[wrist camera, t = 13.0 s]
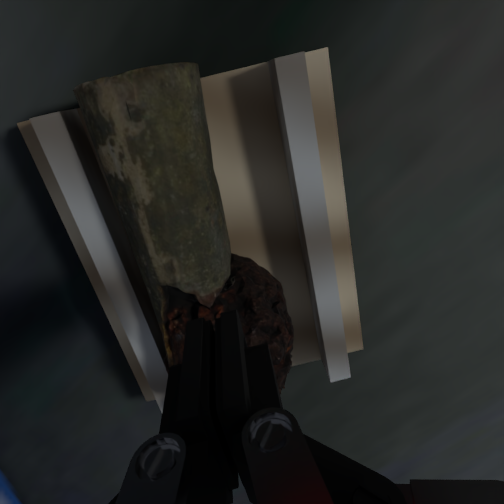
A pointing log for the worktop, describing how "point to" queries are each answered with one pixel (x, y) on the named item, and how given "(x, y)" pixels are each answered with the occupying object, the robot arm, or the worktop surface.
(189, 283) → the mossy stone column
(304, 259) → the pipe cradle
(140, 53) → the worktop surface
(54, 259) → the worktop surface
